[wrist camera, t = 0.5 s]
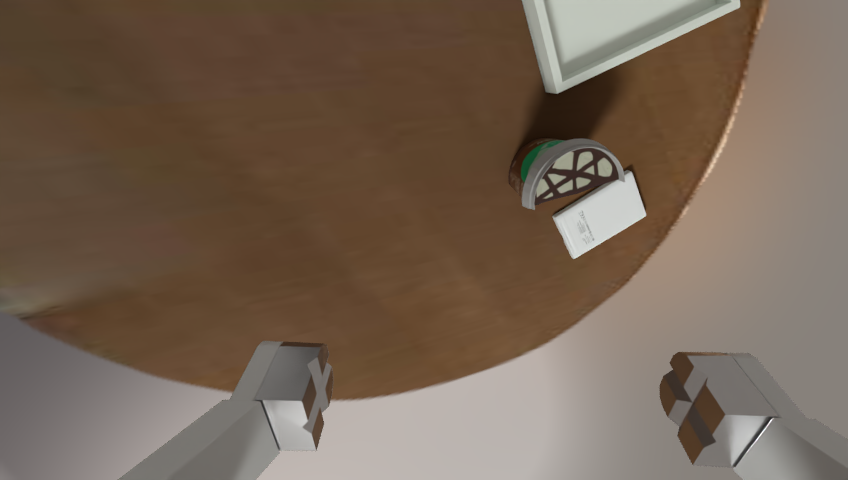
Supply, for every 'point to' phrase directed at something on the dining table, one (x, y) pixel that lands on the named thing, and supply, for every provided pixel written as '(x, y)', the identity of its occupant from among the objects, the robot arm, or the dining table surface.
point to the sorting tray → (607, 32)
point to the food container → (561, 169)
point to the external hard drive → (600, 215)
